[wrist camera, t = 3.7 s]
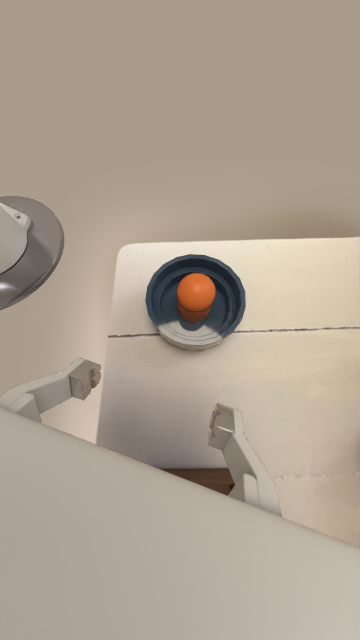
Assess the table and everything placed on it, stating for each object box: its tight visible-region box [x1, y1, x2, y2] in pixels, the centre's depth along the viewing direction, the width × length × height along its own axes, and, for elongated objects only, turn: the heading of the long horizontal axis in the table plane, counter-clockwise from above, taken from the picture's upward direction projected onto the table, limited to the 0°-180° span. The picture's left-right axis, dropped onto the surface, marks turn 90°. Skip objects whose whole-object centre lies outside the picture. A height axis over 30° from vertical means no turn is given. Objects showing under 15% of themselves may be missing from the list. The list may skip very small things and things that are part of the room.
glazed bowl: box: [146, 254, 246, 351], centre depth 27 cm, size 14×14×5 cm
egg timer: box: [177, 273, 216, 323], centre depth 25 cm, size 5×5×8 cm
